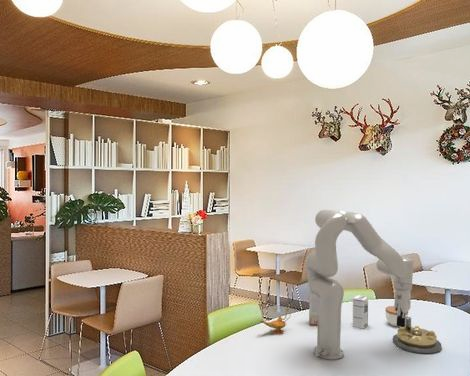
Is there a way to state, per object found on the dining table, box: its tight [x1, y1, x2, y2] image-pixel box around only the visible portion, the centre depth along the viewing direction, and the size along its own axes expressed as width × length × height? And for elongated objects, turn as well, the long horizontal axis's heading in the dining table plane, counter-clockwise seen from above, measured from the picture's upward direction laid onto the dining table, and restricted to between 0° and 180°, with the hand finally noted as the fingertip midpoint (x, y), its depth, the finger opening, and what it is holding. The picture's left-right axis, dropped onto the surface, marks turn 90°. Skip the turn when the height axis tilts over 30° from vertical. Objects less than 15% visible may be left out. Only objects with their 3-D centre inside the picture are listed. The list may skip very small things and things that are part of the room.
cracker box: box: [308, 288, 321, 326], centre depth 219 cm, size 14×6×21 cm, turn 84°
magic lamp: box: [259, 306, 292, 335], centre depth 208 cm, size 7×18×11 cm, turn 122°
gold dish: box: [397, 316, 438, 348], centre depth 195 cm, size 16×16×8 cm
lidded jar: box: [385, 305, 409, 328], centre depth 220 cm, size 11×11×9 cm
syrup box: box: [352, 295, 369, 330], centre depth 217 cm, size 6×6×14 cm
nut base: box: [392, 333, 442, 355], centre depth 196 cm, size 20×20×2 cm
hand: (400, 325), depth 197 cm, fingers closed
